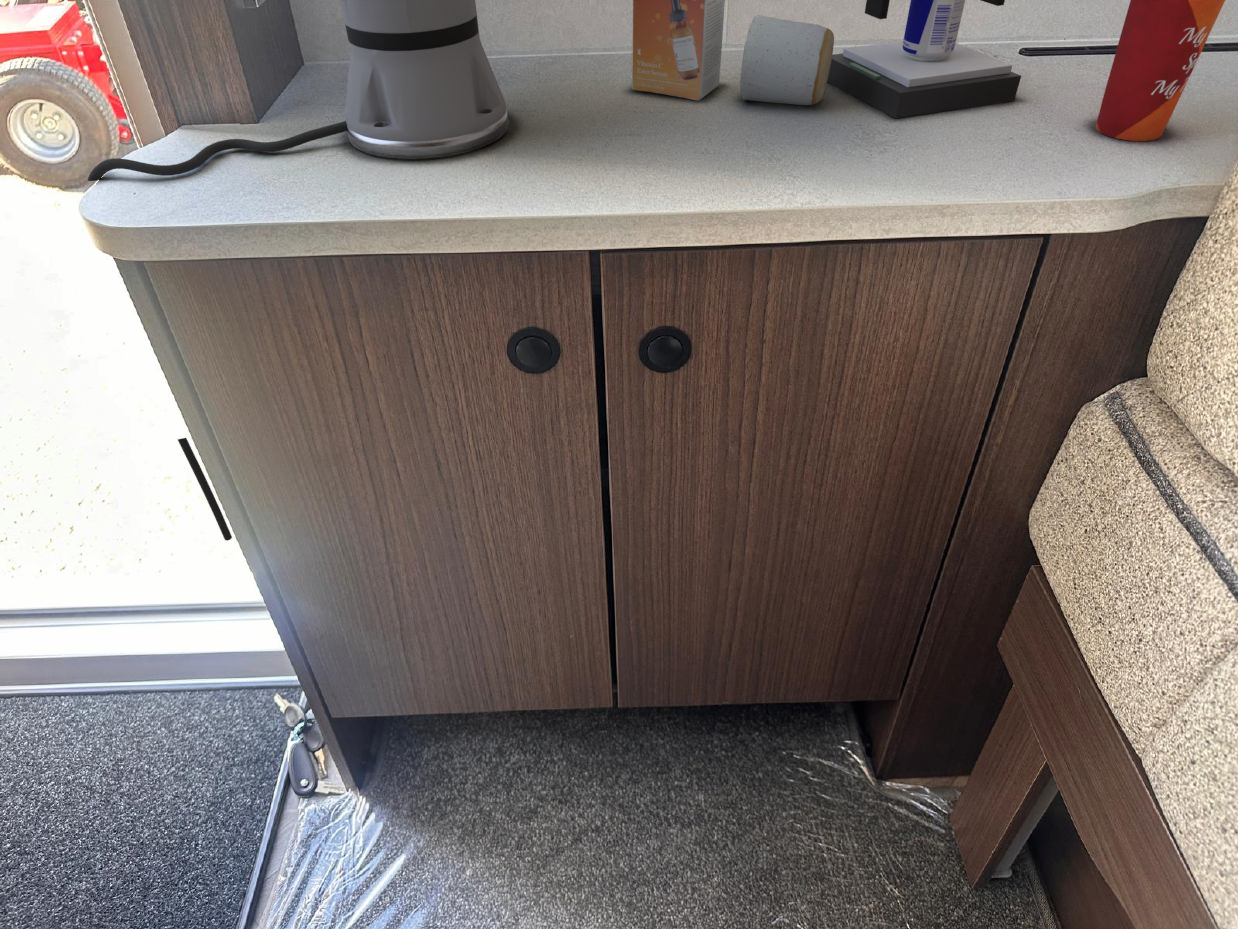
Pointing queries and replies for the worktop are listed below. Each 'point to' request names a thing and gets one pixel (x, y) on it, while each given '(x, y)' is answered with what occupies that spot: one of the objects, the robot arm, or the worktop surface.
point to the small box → (677, 46)
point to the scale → (922, 79)
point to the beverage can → (932, 28)
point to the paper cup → (1153, 65)
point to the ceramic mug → (785, 61)
